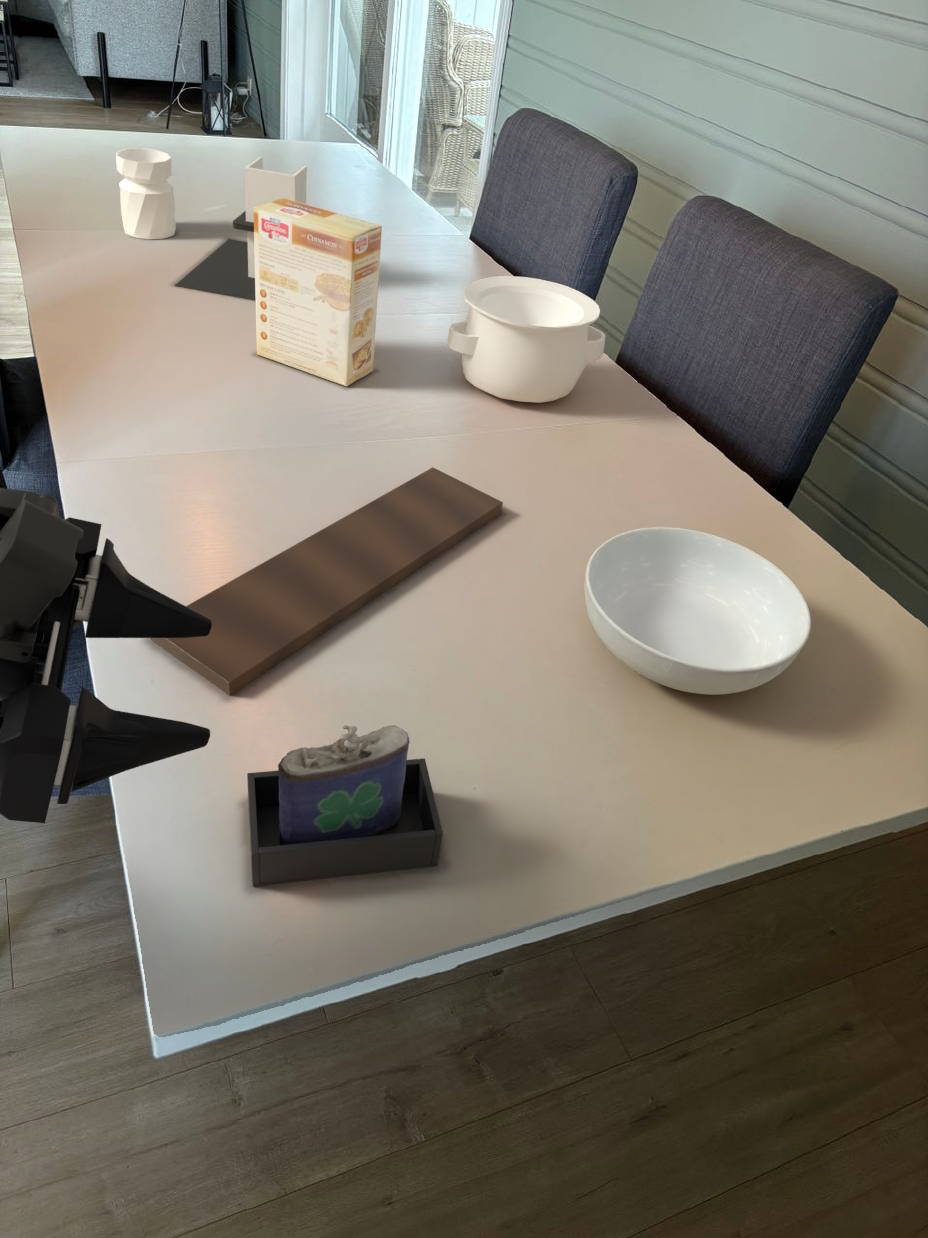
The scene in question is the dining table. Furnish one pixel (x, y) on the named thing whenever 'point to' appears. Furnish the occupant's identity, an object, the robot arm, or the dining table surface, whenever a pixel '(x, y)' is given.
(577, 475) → the dining table surface
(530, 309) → the pot
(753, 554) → the serving bowl
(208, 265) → the black and white stand
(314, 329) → the coffeecake box
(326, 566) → the board
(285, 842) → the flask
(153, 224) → the vase
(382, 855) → the open box
